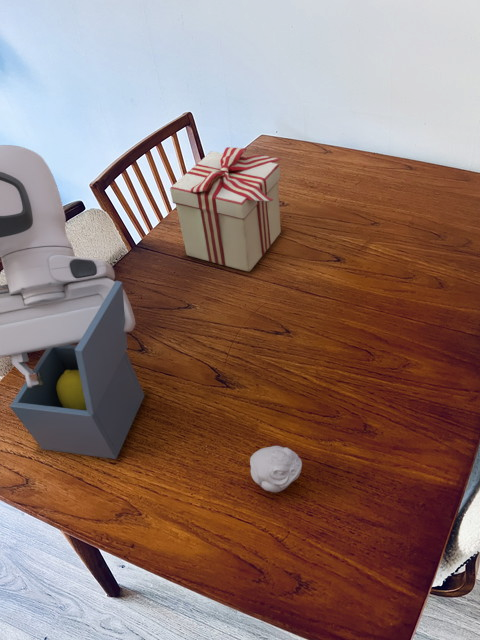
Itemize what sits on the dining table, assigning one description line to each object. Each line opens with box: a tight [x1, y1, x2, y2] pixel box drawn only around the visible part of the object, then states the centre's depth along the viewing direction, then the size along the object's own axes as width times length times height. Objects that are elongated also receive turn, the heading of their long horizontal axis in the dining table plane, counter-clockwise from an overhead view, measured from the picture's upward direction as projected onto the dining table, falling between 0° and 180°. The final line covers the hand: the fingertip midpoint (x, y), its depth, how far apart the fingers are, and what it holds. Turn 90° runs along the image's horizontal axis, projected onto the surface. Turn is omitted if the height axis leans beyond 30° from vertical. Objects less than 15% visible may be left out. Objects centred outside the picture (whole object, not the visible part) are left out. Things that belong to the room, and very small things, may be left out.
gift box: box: [169, 146, 283, 273], centre depth 98 cm, size 17×18×17 cm
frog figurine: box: [249, 445, 303, 493], centre depth 66 cm, size 6×7×7 cm
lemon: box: [56, 370, 87, 411], centre depth 75 cm, size 6×6×8 cm
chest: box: [9, 344, 145, 460], centre depth 74 cm, size 12×12×10 cm
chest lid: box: [75, 280, 128, 414], centre depth 64 cm, size 12×12×1 cm
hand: (68, 379), depth 69 cm, fingers open, 7 cm apart
